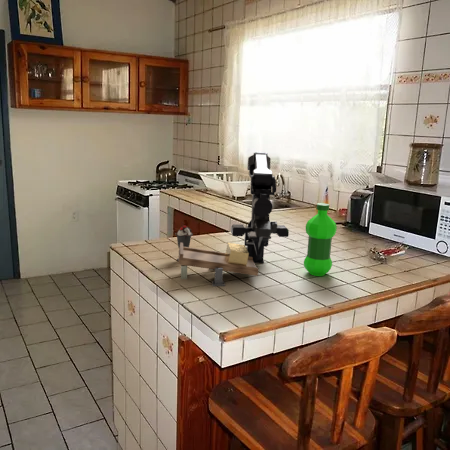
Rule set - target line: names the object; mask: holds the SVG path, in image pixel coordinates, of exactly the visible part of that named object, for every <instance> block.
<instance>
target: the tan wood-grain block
mask: <svg viewBox="0 0 450 450" xmlns="http://www.w3.org/2000/svg"><path fill="white" fill-rule="evenodd" d="M246 247H247V246H245V245H244V244H239V243H234V242H227V245H226V249H225V253H226V254H225V257H226V260H227V263H229V264H235V265H242V266H246V265H247V260H248V255H249V253H248V251H247V249H246Z"/></svg>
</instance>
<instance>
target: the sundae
mask: <svg viewBox="0 0 450 450" xmlns="http://www.w3.org/2000/svg"><path fill="white" fill-rule="evenodd" d="M174 234H175V236H176V239H177V240H176V241H177V246H178V249H179V247H180V242H181V243H183V247H189V248H190V243H191V238H192V237H193V235H194V233H193V232H192V229H191V228H190V227H188V226H187V225H184V222H183V221H182V222H181V226H180V228H179V229H178V231H177V232H175V233H174ZM176 260H177V261H178V262H179V257H178V258H176Z"/></svg>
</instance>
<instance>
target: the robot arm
mask: <svg viewBox="0 0 450 450" xmlns="http://www.w3.org/2000/svg"><path fill="white" fill-rule="evenodd" d="M247 158H248V159H247V169H246V170H247V171H248V177H249V178H250V195H251V200H252V201H251V220H250V221H249V222H248V224H247V225H246V227H245V226H244V224H235V223H234V224H232V225H231V226H230V233H231V236H232V237H244V241H243V243H244V244H243V245H245V247H246V249H247V251H248V253H249V255H248V256H249V257H253V262H254V264H255V263H256V264H257V263H258V264H259V263H260V264H261V263H263V264H264V263H265V260H264V256H265V254H264V252H265V247H266V248H267V247H268V246H269V240H271V239H272V236H271V235H273V234H276V235H277V236H278V237H279V238H289V234H290V231H289V229H288V228H287V226H286V225H284V224H283V225H281V224H278V222H277V221H270V214H271V212H272V211H273V203H272V200H271V196H275V193H277V179H276V176H274V175H273V171H272V170H271V160H272V159H271V157H269V156H268V153H267V152H263V151H262V152H261V151H256V152H253V154H252V155H250V156H248V157H247Z"/></svg>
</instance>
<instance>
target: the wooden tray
mask: <svg viewBox="0 0 450 450" xmlns="http://www.w3.org/2000/svg"><path fill="white" fill-rule="evenodd" d="M225 254H226V252H222V251H216V250H215V251H214V250H209V249H208V250H207V249H204V248H203V249H201V248H195V247H190V246H189V247H183V243H181V242H180V247H179V248H178V258H179V261H178V265H180V266H181V265H186V266H187V267H194V268H201V269H208V270H209V269H214V270H213V271H215V268H223V272H230V273H236V274H243V275H250V276H257V277H258V275H259V270H260V269H259V267H257V266H256V264H255V263H254V262H253V257H249V256H248V260H247V265H246V266H242V265H235V264H229V263H227V260H226V257H225Z"/></svg>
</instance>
